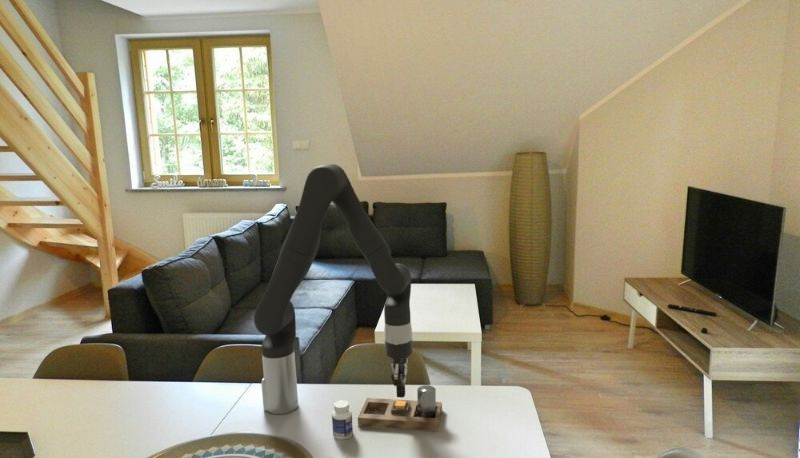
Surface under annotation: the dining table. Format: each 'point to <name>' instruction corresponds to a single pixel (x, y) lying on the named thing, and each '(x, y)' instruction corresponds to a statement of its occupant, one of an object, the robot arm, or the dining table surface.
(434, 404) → the cylinder
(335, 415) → the pill bottle
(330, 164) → the robot arm
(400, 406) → the button
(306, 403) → the dining table surface
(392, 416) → the wooden compartment tray
